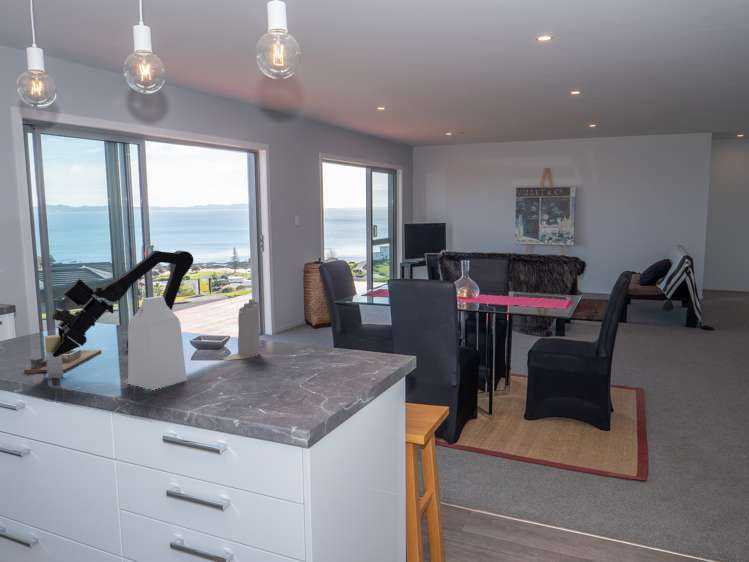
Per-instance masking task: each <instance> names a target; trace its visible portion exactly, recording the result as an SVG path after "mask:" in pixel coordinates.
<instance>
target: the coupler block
mask: <svg viewBox="0 0 749 562" xmlns="http://www.w3.org/2000/svg"><path fill="white" fill-rule="evenodd" d="M43 339H44V349H45V351H44V352H45V360H46V367H47V373H46V376H47V379H50V380H53V379H52V378H57V379H59V378H58V377H63V378H64V373H63V368H62V355H60V356H58V357H54V356H53V353H54V352H55V351H56V349H57V348H58V346H59V345H60V343H61V339H60V336H59V335H58V334H51V335H44V338H43Z"/></svg>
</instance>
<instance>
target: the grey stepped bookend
mask: <svg viewBox="0 0 749 562" xmlns="http://www.w3.org/2000/svg"><path fill="white" fill-rule="evenodd" d="M259 305H260V304H259V301H258V300H256V299H251V298H250V299H248V303H246V302H245V303H244V305H243V306H242V307H240V308H239V309H238V317H237V318H238V319H237V320H238V322H237V325H238V332H237V333H238V336H237V338H238V339H237V340H238V341H237V349H238V351H237V353H233V354H230V355H227V356H226V357H225V356H224V357H222V358H221V360H225V361H232V360H242V359H244V360H245V359H249V358H254V357H255V356H256V357H258V355H259V356H260V355H261V348H260V313H259V312H260V309H259Z"/></svg>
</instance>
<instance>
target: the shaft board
mask: <svg viewBox="0 0 749 562" xmlns="http://www.w3.org/2000/svg"><path fill="white" fill-rule="evenodd" d="M99 353H100V354H102V350H101V349H98V350H97V349H95V350H93V349H92V350H91V349H90V350H89V349H88V350H85V349H84V350H81V349H73V350H71V351H68V352H66V353H64V354H62V368H63V372H66V371H67V372H69V371H71V370H72V368H73V369H74V367H75V368H76V366H77V367H78V366H80V365H82V364H84V363H85V361H86V362H87V361H90V360H91V359H93V358H94V356H95V357H97V356H98V355H100V354H99ZM96 355H97V356H96ZM92 357H93V358H92ZM90 358H91V359H90ZM83 362H84V363H83ZM81 363H82V364H81ZM79 364H80V365H79ZM70 369H71V370H70ZM68 370H69V371H68ZM38 372H39V373H38ZM41 372H47V367H46V359H44V358H43V357H34V358H30V367H28V368H25V369H24V372H23V373H24V374H42V373H41ZM67 372H66V373H67Z"/></svg>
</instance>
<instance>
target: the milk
mask: <svg viewBox="0 0 749 562" xmlns="http://www.w3.org/2000/svg"><path fill="white" fill-rule="evenodd" d="M127 327H128V328H127V340H128V348H127V356H128V357H127V360H128V361H127V363H128V364H127V368H128V370H127V376H128V377H127V381H128V384H131V385H130V386H132V385H135V386H134V387H136V386H139V387H138V388H140V387H143V388H142V389H144V388H146V389H145V390H148V389H151V390H150V391H152V390H154V391H156V390H155V389H157V390H159V389H158V388H160V389H163V388H162V387H164V388H166V387H165V386H167V387H170V386H174V385H177V384H180V383H183V382H186V381H187V372H186V362H185V354H184V345H183V335H182V326H181V321H180V319H179V318H178V316H177V315H176V314H175V313H174V311H173V310H171V309H170V308H169V307H168V306H167V305H166V302H165V300H164V297H163V295H159V296H153V297H152V296H151V297H145V298H143V299H142V302H141V305H140V308H139V309H138V311H137V312H136V313H135V314H134V315H133V316H132V317H131V319H130V320H129V322H128V326H127ZM176 383H177V384H176ZM169 385H170V386H169Z"/></svg>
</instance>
